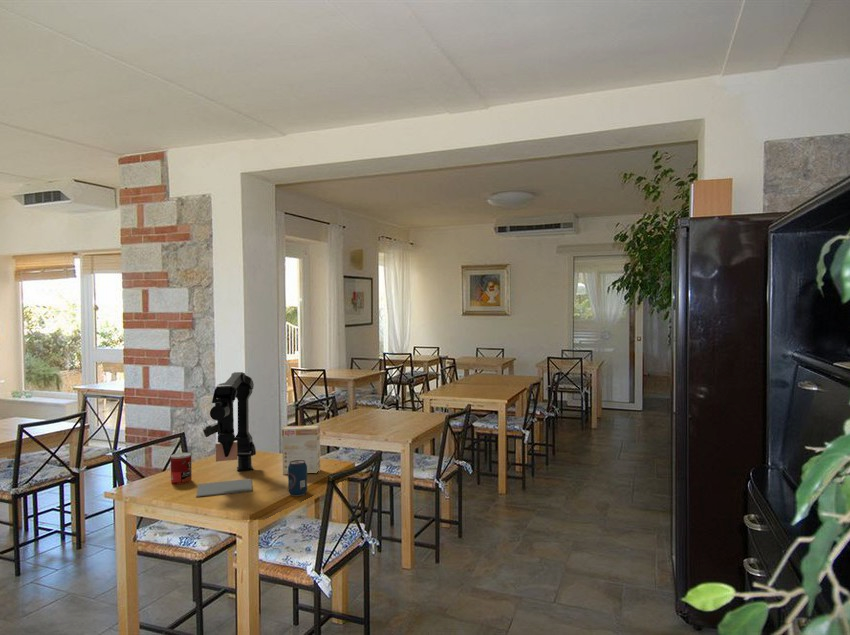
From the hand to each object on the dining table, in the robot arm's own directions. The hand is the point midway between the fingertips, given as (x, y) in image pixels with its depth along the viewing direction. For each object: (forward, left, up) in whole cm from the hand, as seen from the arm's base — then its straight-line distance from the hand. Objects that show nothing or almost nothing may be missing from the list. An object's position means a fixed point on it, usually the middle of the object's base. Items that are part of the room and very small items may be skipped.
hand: (226, 455), depth 221 cm
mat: (+2, -1, -12) cm, 12 cm away
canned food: (-15, -18, -12) cm, 26 cm away
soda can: (+20, +25, -12) cm, 35 cm away
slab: (0, 0, -2) cm, 2 cm away
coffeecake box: (-10, +30, -12) cm, 34 cm away
